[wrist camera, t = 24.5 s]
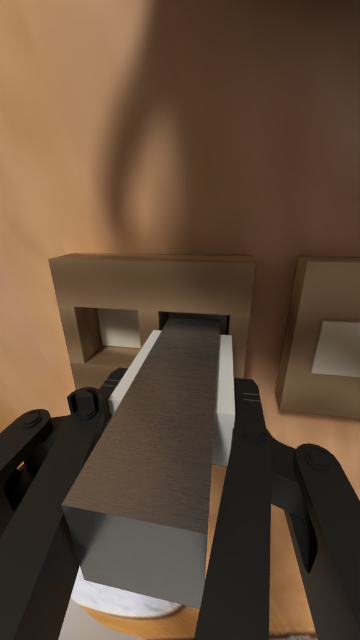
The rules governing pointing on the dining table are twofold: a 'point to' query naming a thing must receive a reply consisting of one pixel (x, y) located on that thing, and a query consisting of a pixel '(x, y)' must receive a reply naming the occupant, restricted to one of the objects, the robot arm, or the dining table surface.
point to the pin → (153, 473)
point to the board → (322, 339)
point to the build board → (145, 304)
